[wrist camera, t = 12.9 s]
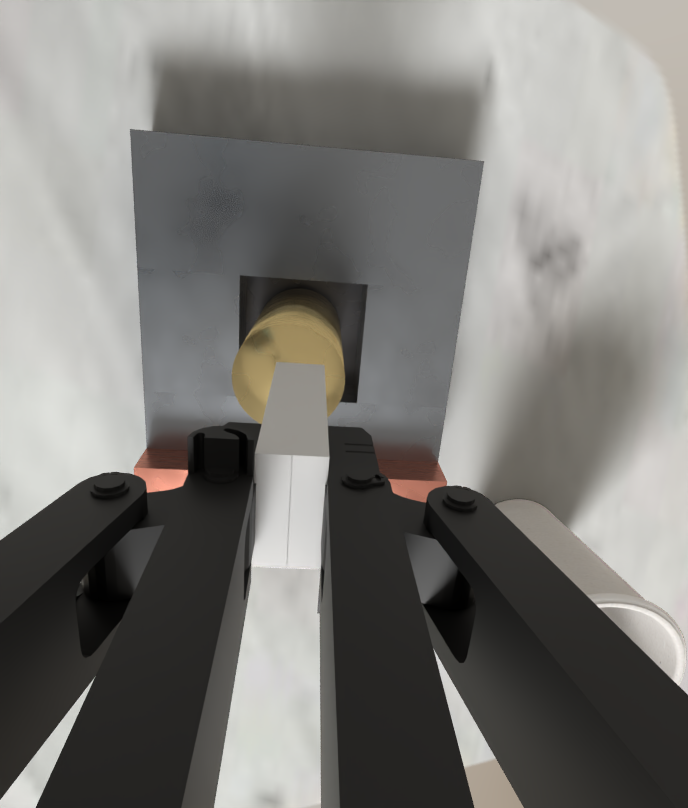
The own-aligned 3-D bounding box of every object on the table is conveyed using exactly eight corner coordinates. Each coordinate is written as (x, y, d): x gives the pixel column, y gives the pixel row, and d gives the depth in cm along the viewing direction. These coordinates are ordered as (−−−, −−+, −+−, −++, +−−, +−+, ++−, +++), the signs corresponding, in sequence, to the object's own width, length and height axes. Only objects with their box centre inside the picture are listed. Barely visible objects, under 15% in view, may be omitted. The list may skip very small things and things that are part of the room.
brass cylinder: (257, 365, 27) (230, 427, 20) (259, 285, 26) (232, 319, 19) (336, 371, 28) (340, 435, 20) (343, 291, 26) (349, 328, 19)
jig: (151, 137, 24) (112, 122, 19) (464, 165, 25) (499, 158, 20) (164, 464, 30) (136, 515, 25) (420, 476, 31) (439, 526, 26)
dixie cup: (490, 619, 35) (555, 776, 25) (414, 532, 32) (455, 672, 23) (606, 547, 33) (721, 686, 24) (536, 450, 30) (634, 563, 21)
